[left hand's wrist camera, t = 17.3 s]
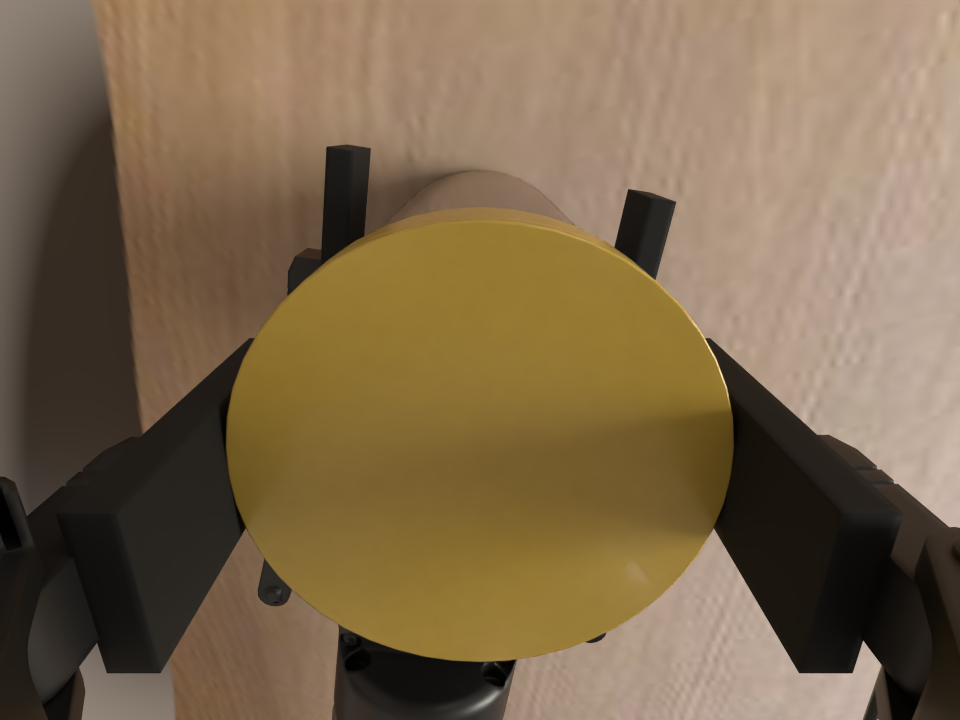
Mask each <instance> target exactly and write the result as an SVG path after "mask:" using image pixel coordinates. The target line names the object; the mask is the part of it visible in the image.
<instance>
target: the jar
mask: <svg viewBox="0 0 960 720" xmlns="http://www.w3.org/2000/svg"><path fill="white" fill-rule="evenodd" d="M472 207H487V208H502V209H515V210H519V211H524V212H529V213H534V214H539V215H544V216H548V217H550V218H553V219H556V220H559V221H562V222H565V223H567V224H570V225H573V226H576V225H575V224H574V223H573V222H572V221H571V220H570V219H569V218H568V217H567V216H566V215H564V214H563V213H562V212H561V211H560V210H559V209H558V208H557V207H556V206H555V205H554V204H553V203H552V202H551V201H550V200H549V199H548V198H547V197H546V196H545V195H544V194H543V193H542V192H540V191H539V190H538V189H536V188H535V187H533V186H532V185H530V184H528V183H527V182H525V181H523V180H521V179H519V178H516V177H513V176H510V175H507V174H504V173H499V172H494V171H480V170H478V171H465V172H461V173H456V174H452V175H449V176H446V177H444V178H441V179H439V180H437V181H435V182H433V183H431V184H429V185H428V186H426V187H425V188H423V189H422V190H421V191H419V192H418V193H417V194H416V195H415V196H414V197H413V198H411V199H410V200H409V201H408V202H407V203H406V204H405V205H404V206H403V207H402V208H401V209H400V210H399V211H398V212H397V213H396V214H395V215H394V216H393V217H392V218H391V219H390V220H389V221H388V222H387V223H386V224H385V225H384V226H386V225H389V224H392V223H395V222H398V221H401V220H404V219H406V218H409V217H412V216H416V215H421V214H426V213H430V212H435V211H440V210H445V209H458V208H472ZM384 226H383V227H384ZM576 227H577V226H576Z"/></svg>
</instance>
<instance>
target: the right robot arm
mask: <svg viewBox="0 0 960 720" xmlns="http://www.w3.org/2000/svg"><path fill="white" fill-rule="evenodd" d="M370 151H371V148H365V147H359V146H353V145H339V146H330V147H327V150H326V170H325V190H324V210H323V231H322V250H317V249H310V248H307V249H306V250H304V251H303V252H301V253H300V254H298V255H297V256H295V258H294V260H293V262H292V264H291V267H290V269H289V271H288V294H287V296H288V295H289V294H291V293H292V292H293V291H294V290H295V289H296V288H297V287H298V286H299V285H300V284H301V283H302V282H303V281H304V280H305V279H306V278H308V277H309V276H310V275H311V274H312V273H313V272H315V271H316V270H317V269H318V268H319V267H320V266H322V265H323V264H324V263H325V262H326V261H328V260H329V259H330V258H332V257H333V256H334V255H336V254H337V253H339V252H340V251H341V250H343V249H344V248H346V247H347V246H349V245H350V244H351V243H353V242H354V241H356V240H358V239H360V238H362V237H364V230H365V217H366V204H367V191H368V178H369V164H370ZM675 205H676V202H675V201H672V200H669V199H667V198H664V197H661V196H658V195H656V194H653V193H650V192H643V191H637V190H631V189H628V192H627V197H626V201H625V205H624V209H623V214H622V218H621V222H620V226H619V231H618V235H617V239H616V243H615V247H614V248H615V249H617V250H618V251H620V252H621V253H622V254H624V255H625V256H627V257H628V258H629V259H631V260H632V261H633V262H634V263H636V264H637V265H638V266H639V267H640V268H641V269H643V270H644V271H645V272H646V273H647V274H649V275H650V276H651V277H652V278H653V279H654V280H655V279H656V276H657V272H658V268H659V264H660V261H661V257H662V253H663V250H664V246H665V242H666V238H667V235H668V231H669V227H670V223H671V220H672V216H673V212H674V208H675ZM291 592H294V591H293V590H292V589H291V588H290V587H289V586H288V585H287V584H286V583H285V582H284V581H283V580H282V579H281V578H280V577H279V576H278V575H277V574H276V572H275V571H274V570H273V569H272V567H271V566H270V565H269V563H268V562H267V561H266V560H265V558H264V563H263V568H262V573H261V578H260V582H259V587H258V596H259V598H260V600H261V601H263V602H264V603H265V604H267V605H270V606H280V605H283V604H285V603H286V602H287V601H288V599H289V597H290V594H291ZM338 625H339V624H338ZM605 635H606V633H604V634H602V635H599V636H597V637H595V638H593V639H591V640H589V641H586V642H587V643H593V642H597V641H600V640H601V639H602V638H603V637H604V636H605ZM516 661H517V659H515V660H507V661H487V662H473V661H452V660H445V659H438V658H431V657H424V656H420V655H416V654H412V653H408V652H404V651H400V650H396V649H393V648H390V647H388V646H385V645H382V644H379V643H376V642H374V641H371V640H368V639H366V638H364V637H362V636H360V635H358V634H356V633H354V632H352V631H350V630H347V629H345V628H344V627H342V626H340V625H339V640H338V652H337V665H336V677H335V689H334V706H333V711H332V720H503V716H504V712H505V708H506V704H507V699H508V695H509V691H510V686H511V682H512V678H513V674H514V669H515V665H516Z"/></svg>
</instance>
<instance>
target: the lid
mask: <svg viewBox="0 0 960 720" xmlns="http://www.w3.org/2000/svg"><path fill="white" fill-rule="evenodd" d="M225 449H226V458H227V467H228V473H229V478H230V483H231V488H232V491H233V495H234V499H235V503H236V506H237V508H238V510H239V513H240V515H241V517H242V520H243V522H244V525H245V527H246V529H247V531H248V533H249V535H250V536H251V538H252V540H253V541H254V543H255V545H256V546H257V548H258V550H259V551H260V553H261V555H262V556H263V557H264V558H265V560H266V561H267V562H268V563H269V565H270V566H271V567H272V569H273V570H274V571H275V572H276V574H277V575H278V576H279V577H280V578H281V579H282V580H283V581H284V582H285V583H286V584H287V585H288V586H289V587H290V588H291V589H292V590H293V591H294V592H295V593H296V594H297V595H298V596H299V597H300V598H302V599H303V600H304V601H305V602H307V603H308V604H309V605H311V606H312V607H313V608H314V609H316V610H317V611H318V612H319V613H321V614H322V615H324V616H326V617H327V618H329V619H331V620H332V621H334V622H335V623H337V624H339V625H340V626H342V627H344V628H345V629H347V630H350V631H352V632H354V633H356V634H358V635H360V636H362V637H364V638H366V639H368V640H371V641H374V642H376V643H379V644H382V645H385V646H388V647H390V648H393V649H396V650H400V651H404V652H408V653H412V654H416V655H420V656H424V657H431V658H438V659H445V660H452V661H473V662H487V661H507V660H515V659H521V658H528V657H535V656H540V655H544V654H548V653H552V652H556V651H560V650H564V649H566V648H569V647H572V646H575V645H578V644H580V643H583V642H586V641H589V640H591V639H593V638H595V637H597V636H599V635H602V634H604V633H606V632H608V631H610V630H612V629H614V628H616V627H618V626H619V625H621V624H622V623H624V622H626V621H627V620H629V619H631V618H632V617H634V616H635V615H637V614H639V613H640V612H641V611H643V610H644V609H645V608H646V607H648V606H649V605H650V604H651V603H653V602H654V601H655V600H657V599H658V598H659V597H660V596H662V595H663V594H664V593H665V592H666V591H667V590H668V589H669V588H670V587H671V586H672V585H673V584H674V583H675V582H676V581H677V580H678V579H679V578H680V577H681V576H682V574H683V573H684V572H685V571H686V569H687V568H688V567H689V565H690V564H691V563H692V562H693V560H694V559H695V558H696V556H697V555H698V554H699V552H700V551H701V549H702V547H703V546H704V544H705V542H706V540H707V539H708V537H709V535H710V534H711V532H712V530H713V528H714V526H715V523H716V521H717V519H718V516H719V514H720V512H721V509H722V507H723V504H724V501H725V497H726V493H727V490H728V486H729V481H730V476H731V470H732V463H733V454H734V431H733V415H732V410H731V405H730V400H729V395H728V390H727V386H726V384H725V381H724V378H723V375H722V373H721V370H720V367H719V365H718V362H717V359H716V357H715V355H714V354H713V352H712V350H711V348H710V346H709V345H708V343H707V341H706V339H705V337H704V336H703V334H702V332H701V330H700V329H699V328H698V326H697V325H696V324H695V322H694V321H693V320H692V319H691V317H690V316H689V315H688V313H687V312H686V311H685V310H684V308H683V307H682V306H681V304H680V303H679V302H678V301H676V300H675V299H674V298H673V297H672V296H671V295H670V294H669V293H668V292H667V291H666V290H665V289H664V288H663V287H662V286H661V285H660V284H659V283H658V282H657V281H655V280H654V279H653V278H652V277H651V276H650V275H649V274H647V273H646V272H645V271H644V270H643V269H641V268H640V267H639V266H638V265H637V264H636V263H634V262H633V261H632V260H631V259H629V258H628V257H627V256H625V255H624V254H622V253H621V252H620V251H618V250H617V249H615V248H614V247H613V246H611V245H610V244H608V243H607V242H605V241H603V240H602V239H600V238H598V237H596V236H594V235H592V234H590V233H588V232H586V231H584V230H582V229H580V228H578V227H576V226H573V225H570V224H567V223H565V222H562V221H559V220H556V219H553V218H550V217H548V216H544V215H539V214H534V213H529V212H524V211H519V210H515V209H502V208H487V207H472V208H458V209H445V210H440V211H435V212H430V213H426V214H421V215H416V216H412V217H409V218H406V219H404V220H401V221H398V222H395V223H392V224H389V225H386V226H384V227H381V228H379V229H377V230H376V231H374V232H372V233H370V234H368V235H366V236H364V237H362V238H360V239H358V240H356V241H354V242H353V243H351V244H350V245H349V246H347V247H346V248H344V249H343V250H341V251H340V252H339V253H337V254H336V255H334V256H333V257H332V258H330V259H329V260H328V261H326V262H325V263H324V264H323V265H322V266H320V267H319V268H318V269H317V270H316V271H315V272H313V273H312V274H311V275H310V276H309V277H308V278H306V279H305V280H304V281H303V282H302V283H301V284H300V285H299V286H298V287H297V288H296V289H295V290H294V291H293V292H292V293H291V294H289V295H288V296H287V297H286V298H285V299H284V300H283V301H282V302H281V303H280V304H279V305H278V307H277V308H276V309H275V310H274V312H273V313H272V314H271V316H270V317H269V318H268V319H267V321H266V322H265V323H264V325H263V326H262V327H261V328H260V330H259V331H258V333H257V335H256V337H255V339H254V340H253V342H252V344H251V346H250V347H249V349H248V351H247V353H246V355H245V356H244V358H243V361H242V364H241V366H240V369H239V372H238V374H237V377H236V380H235V383H234V385H233V388H232V393H231V398H230V403H229V408H228V413H227V421H226V444H225Z"/></svg>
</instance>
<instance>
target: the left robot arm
mask: <svg viewBox="0 0 960 720" xmlns="http://www.w3.org/2000/svg"><path fill="white" fill-rule="evenodd" d="M254 339H255V338H249V339H248V340H247V341H246V342H245V343H244V344H243V345H242V346H240V347H239V348H238V349H237V350H236V351H235V352H234V353H233V354H232V355H230V356H229V357H228V358H227V359H226V360H225V361H224V362H223V363H222V364H220V365H219V366H218V367H217V368H216V369H215V370H214V371H213V372H212V373H211V374H209V375H208V376H207V377H206V378H205V379H204V380H203V381H202V382H201V383H199V384H198V385H197V386H196V387H195V388H194V389H193V390H192V391H191V392H189V393H188V394H187V395H186V396H185V397H184V398H183V399H182V400H181V401H179V402H178V403H177V404H176V405H175V406H174V407H173V408H172V409H171V410H170V411H168V412H167V413H166V414H165V415H164V416H163V417H162V418H161V419H160V420H158V421H157V422H156V423H155V424H154V425H153V426H152V427H151V428H150V429H148V430H147V431H146V432H145V433H144V434H143V435H142V436H141V437H130V438H128V439H127V440H124V441H123V442H121V443H119V444H117V445H115V446H113V447H111V448H109V449H107V450H105V451H103V452H102V453H101V454H99V455H98V456H97V457H96V458H95V459H94V460H92V461H91V462H90V463H89V464H88V465H87V466H85V467H84V468H83V472H78V473H77V474H76V475H75V476H74V477H72V478H71V479H70V480H69V481H68V482H67V485H66V486H62V487H61V488H60V489H58V490H57V491H56V492H55V493H54V494H53V495H51V496H50V497H49V498H48V499H47V500H46V501H44V502H43V503H42V504H41V505H40V506H38V507H37V508H36V509H35V510H34V511H33V512H31V513H30V514H29V515H28V516H26V513H25V510H24V507H23V504H22V501H21V499H20V496H19V493H18V490H17V487H16V484H15V482H13V481H11V480H9V479H8V478H6V477H0V720H81V718H82V711H83V704H84V697H85V687H84V681H83V677H82V674H81V672H80V669H79V666H80V665H81V663H82V662H83V661H84V659H85V658H86V657H87V655H88V654H89V653H90V651H91V650H92V649H93V647H94V646H95V645H96V643H97V644H98V647H99V650H100V653H101V656H102V659H103V662H104V665H105V668H106V671H107V673H161V671H162V670H163V668H164V666H165V664H166V663H167V661H168V659H169V658H170V656H171V654H172V653H173V651H174V649H175V647H176V646H177V644H178V642H179V641H180V639H181V637H182V636H183V634H184V632H185V630H186V629H187V627H188V625H189V624H190V622H191V620H192V619H193V617H194V615H195V613H196V612H197V610H198V608H199V607H200V605H201V603H202V602H203V600H204V598H205V596H206V595H207V593H208V591H209V590H210V588H211V586H212V585H213V583H214V581H215V579H216V578H217V576H218V574H219V573H220V571H221V569H222V568H223V566H224V564H225V562H226V561H227V559H228V557H229V556H230V554H231V552H232V551H233V549H234V547H235V545H236V544H237V542H238V540H239V539H240V537H241V535H242V534H243V532H244V530H245V528H246V527H245V525H244V522H243V520H242V517H241V515H240V513H239V510H238V508H237V506H236V503H235V499H234V495H233V491H232V488H231V483H230V478H229V473H228V467H227V458H226V449H225V444H226V421H227V413H228V408H229V403H230V398H231V393H232V388H233V385H234V383H235V380H236V377H237V374H238V372H239V369H240V366H241V364H242V361H243V358H244V356H245V355H246V353H247V351H248V349H249V347H250V346H251V344H252V342H253V340H254ZM705 339H706V341H707V343H708V345H709V346H710V348H711V350H712V352H713V354H714V355H715V357H716V359H717V362H718V365H719V367H720V370H721V373H722V375H723V378H724V381H725V384H726V386H727V390H728V395H729V400H730V405H731V410H732V415H733V431H734V454H733V463H732V470H731V476H730V481H729V486H728V490H727V493H726V497H725V501H724V504H723V507H722V509H721V512H720V514H719V516H718V519H717V521H716V523H715V526H714V529H715V531H716V533H717V534H718V536H719V538H720V539H721V541H722V543H723V544H724V546H725V548H726V550H727V551H728V553H729V555H730V556H731V558H732V560H733V561H734V563H735V565H736V567H737V568H738V570H739V572H740V573H741V575H742V577H743V578H744V580H745V582H746V584H747V585H748V587H749V589H750V590H751V592H752V594H753V595H754V597H755V599H756V601H757V602H758V604H759V606H760V607H761V609H762V611H763V612H764V614H765V616H766V618H767V619H768V621H769V623H770V624H771V626H772V628H773V629H774V631H775V633H776V635H777V636H778V638H779V640H780V641H781V643H782V645H783V646H784V648H785V650H786V652H787V653H788V655H789V657H790V658H791V660H792V662H793V663H794V665H795V667H796V669H797V670H798V672H799V673H853V670H854V667H855V664H856V661H857V658H858V655H859V652H860V648H861V645H862V642H863V641H864V642H865V643H866V645H867V646H868V647H869V649H870V650H871V651H872V653H873V654H874V655H875V657H876V658H877V659H878V661H879V662H880V663H881V665H882V666H881V669H880V672H879V674H878V677H877V680H876V683H875V686H874V689H873V692H872V695H871V698H870V700H869V703H868V706H867V709H866V712H865V715H864V718H863V720H877V719H879V720H960V528H957V527H948V526H947V525H946V524H945V523H944V522H942V521H941V520H940V519H939V518H938V517H936V516H935V515H934V514H933V513H932V512H931V511H929V510H928V509H927V508H926V507H925V506H923V505H922V504H921V503H920V502H919V501H918V500H916V499H915V498H914V497H913V496H912V495H910V494H909V493H908V492H907V491H906V490H905V489H903V488H902V487H901V486H900V485H899V484H894V480H893V479H892V478H890V477H889V476H888V475H887V474H886V473H884V472H883V471H882V470H877V466H876V465H875V464H874V463H873V462H871V461H870V460H869V459H868V458H867V457H865V456H864V455H863V454H862V453H861V452H860V451H858V450H857V449H855V448H853V447H851V446H849V445H847V444H846V443H844V442H842V441H840V440H838V439H836V438H834V437H832V436H830V435H817V434H816V433H814V432H813V431H812V430H811V429H810V428H809V427H808V426H807V425H806V424H804V423H803V422H802V421H801V420H800V419H799V418H798V417H797V416H796V415H795V414H793V413H792V412H791V411H790V410H789V409H788V408H787V407H786V406H785V405H783V404H782V403H781V402H780V401H779V400H778V399H777V398H776V397H775V396H773V395H772V394H771V393H770V392H769V391H768V390H767V389H766V388H765V387H763V386H762V385H761V384H760V383H759V382H758V381H757V380H756V379H755V378H754V377H752V376H751V375H750V374H749V373H748V372H747V371H746V370H745V369H744V368H742V367H741V366H740V365H739V364H738V363H737V362H736V361H735V360H734V359H732V358H731V357H730V356H729V355H728V354H727V353H726V352H725V351H724V350H723V349H721V348H720V347H719V346H718V345H717V344H716V343H715V342H714V341H713V340H711V339H710V338H705Z"/></svg>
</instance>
